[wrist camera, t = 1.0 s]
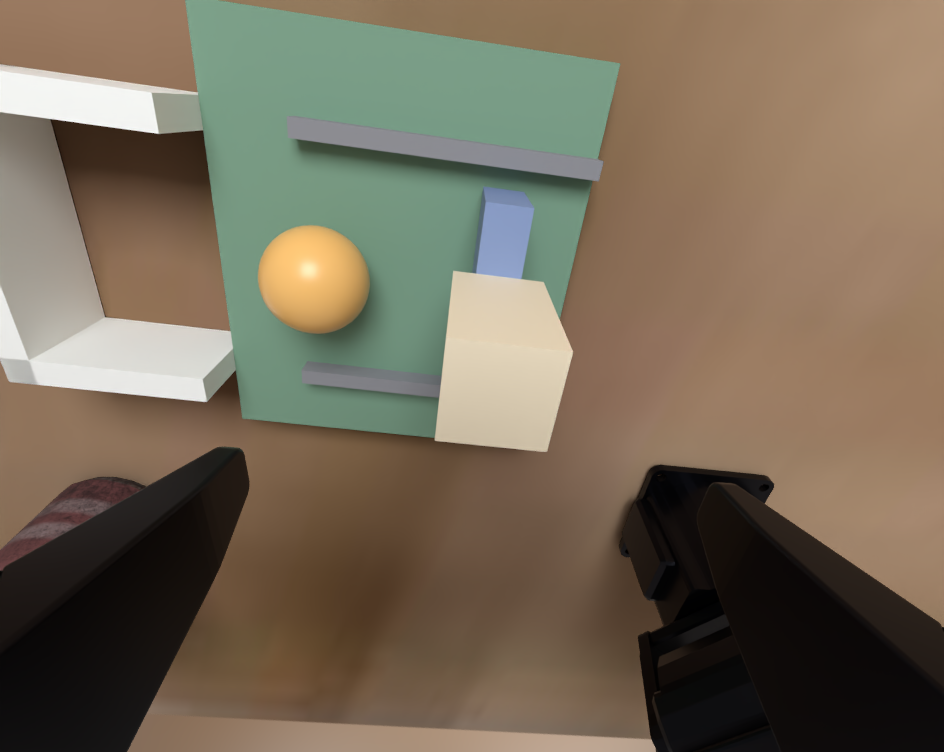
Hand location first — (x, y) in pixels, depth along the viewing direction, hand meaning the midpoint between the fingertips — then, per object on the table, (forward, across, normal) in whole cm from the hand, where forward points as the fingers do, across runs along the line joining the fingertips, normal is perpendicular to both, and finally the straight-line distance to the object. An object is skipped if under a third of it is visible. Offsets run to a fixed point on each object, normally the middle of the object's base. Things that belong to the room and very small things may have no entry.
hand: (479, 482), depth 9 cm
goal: (+12, +13, -1) cm, 18 cm away
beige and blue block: (+10, 0, -1) cm, 10 cm away
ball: (+9, +6, -1) cm, 10 cm away
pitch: (+12, +3, -1) cm, 12 cm away
